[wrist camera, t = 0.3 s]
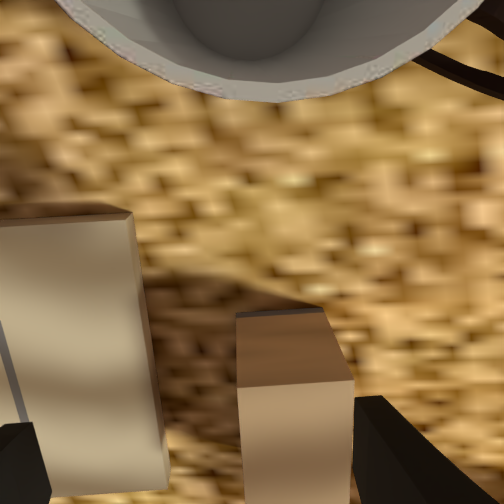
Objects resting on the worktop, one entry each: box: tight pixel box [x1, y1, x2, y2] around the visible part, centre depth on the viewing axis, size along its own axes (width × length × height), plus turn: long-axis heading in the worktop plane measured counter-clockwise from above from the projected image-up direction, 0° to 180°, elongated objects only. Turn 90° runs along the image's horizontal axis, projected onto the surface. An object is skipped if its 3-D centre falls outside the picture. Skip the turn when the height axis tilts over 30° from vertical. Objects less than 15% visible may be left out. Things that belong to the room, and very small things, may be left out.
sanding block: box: [236, 307, 354, 504], centre depth 18 cm, size 8×4×6 cm, turn 3°
